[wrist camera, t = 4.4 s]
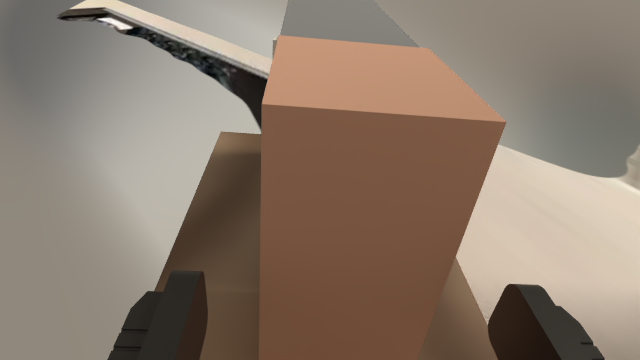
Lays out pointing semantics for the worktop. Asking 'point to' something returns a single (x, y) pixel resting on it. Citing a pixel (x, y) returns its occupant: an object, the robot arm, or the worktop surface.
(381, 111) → the terracotta stub
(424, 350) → the walnut board
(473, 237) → the worktop surface
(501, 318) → the robot arm
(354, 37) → the charcoal ticket block
